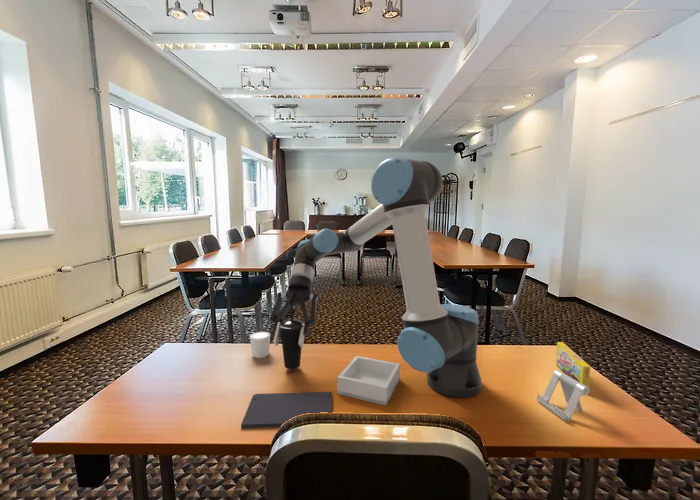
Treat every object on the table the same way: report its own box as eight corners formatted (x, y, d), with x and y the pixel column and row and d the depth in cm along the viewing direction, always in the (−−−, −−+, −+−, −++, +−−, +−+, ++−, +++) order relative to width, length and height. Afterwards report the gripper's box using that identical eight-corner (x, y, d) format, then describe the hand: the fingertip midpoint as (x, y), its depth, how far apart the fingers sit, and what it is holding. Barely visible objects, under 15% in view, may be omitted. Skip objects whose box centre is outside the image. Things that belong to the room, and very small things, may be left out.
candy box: (554, 365, 109) (556, 341, 108) (561, 366, 108) (564, 341, 107) (580, 393, 93) (583, 365, 92) (589, 394, 93) (592, 366, 91)
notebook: (241, 430, 79) (332, 427, 80) (240, 424, 78) (331, 421, 79) (253, 399, 91) (332, 396, 92) (253, 393, 91) (332, 391, 92)
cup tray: (399, 379, 100) (400, 363, 99) (386, 405, 87) (386, 387, 86) (356, 370, 105) (356, 355, 105) (337, 394, 92) (337, 377, 92)
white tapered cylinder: (246, 357, 114) (246, 338, 113) (256, 349, 121) (255, 330, 120) (265, 359, 113) (265, 339, 112) (274, 350, 120) (273, 332, 119)
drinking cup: (307, 360, 109) (306, 301, 106) (301, 372, 102) (300, 308, 99) (284, 359, 110) (282, 300, 107) (276, 370, 103) (275, 307, 100)
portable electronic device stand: (536, 401, 89) (538, 372, 88) (560, 398, 91) (563, 369, 90) (563, 422, 81) (567, 390, 80) (590, 417, 82) (593, 386, 81)
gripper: (331, 286, 117) (322, 350, 103) (276, 284, 119) (260, 347, 106) (328, 274, 111) (318, 341, 97) (270, 273, 113) (252, 338, 100)
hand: (288, 344), depth 101 cm, fingers closed on drinking cup, 7 cm apart
